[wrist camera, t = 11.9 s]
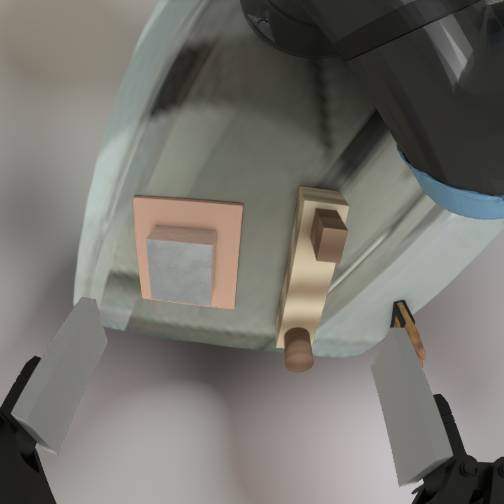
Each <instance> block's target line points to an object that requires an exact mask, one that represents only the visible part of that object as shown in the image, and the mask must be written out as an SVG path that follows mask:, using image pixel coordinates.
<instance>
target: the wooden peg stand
mask: <svg viewBox="0 0 504 504" xmlns="http://www.w3.org/2000/svg"><path fill="white" fill-rule="evenodd" d="M348 210H349V205H348V203H347V202H346V201H345V199H344V198H343V196H342V195H341V193H340V192H339V191H332V190H325V189H317V188H310V187H302V186H299V192H298V199H297V205H296V211H295V218H294V224H293V230H292V236H291V242H290V248H289V253H288V259H287V265H286V270H285V276H284V282H283V287H282V292H281V298H280V303H279V309H278V314H277V319H276V324H275V326H276V348H285V363H286V368H287V369H288V370H290V371H292V372H304V371H306V370H308V369H310V368H311V367H312V366H313V364H314V361H313V354H312V347H311V346H312V343H313V340H314V337H315V333H316V330H317V327H318V324H319V320H320V317H321V314H322V310H323V307H324V304H325V300H326V297H327V293H328V289H329V286H330V282H331V279H332V275H333V271H334V267H335V264H336V263H340V260H341V256H342V253H343V249H344V245H345V241H346V237H347V233H348V230H347V228H346V226H345V223H346V219H347V215H348Z"/></svg>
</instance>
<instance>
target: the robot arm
mask: <svg viewBox="0 0 504 504" xmlns="http://www.w3.org/2000/svg"><path fill="white" fill-rule="evenodd" d="M240 1H241V5H242V9H243V13H244V15H245V18H246V20H247V22H248V23H249V25H250V26H251V28H252V29H253V30H254V31H255V33H256V34H257V35H258V36H259V37H261V38H262V39H263V40H264V41H265V42H267V43H268V44H270V45H271V46H273V47H274V48H276V49H278V50H280V51H283V52H285V53H288V54H291V55H294V56H298V57H304V58H328V57H333V56H337V55H341V56H342V58H343V59H344V61H345V63H346V64H347V66H348V67H349V68H350V70H351V71H352V73H353V74H354V75H355V77H356V78H357V80H358V81H359V83H360V84H361V86H362V87H363V89H364V90H365V92H366V93H367V95H368V96H369V98H370V99H371V101H372V102H373V104H374V106H375V107H376V109H377V110H378V112H379V114H380V115H381V117H382V119H383V120H384V122H385V124H386V125H387V127H388V129H389V130H390V132H391V134H392V136H393V137H394V139H395V141H396V143H397V149H398V151H399V153H400V155H401V157H402V159H403V160H404V162H405V163H406V164H407V165H408V166H409V167H410V168H411V170H412V171H413V173H414V175H415V177H416V179H417V181H418V183H419V184H420V186H421V188H422V189H423V191H424V192H425V193H426V194H427V195H428V196H429V197H430V198H431V199H432V200H433V201H434V202H435V203H436V204H438V205H439V206H441V207H442V208H444V209H446V210H448V211H450V212H452V213H455V214H458V215H461V216H464V217H469V218H475V219H503V218H504V1H503V2H499V3H495V4H492V5H487V4H486V3H485V1H484V0H240ZM107 343H108V342H107V338H106V335H105V332H104V328H103V324H102V321H101V317H100V314H99V310H98V306H97V302H96V299H91V298H85V297H81V299H80V300H79V302H78V303H77V304H76V306H75V307H74V309H73V310H72V312H71V313H70V315H69V316H68V318H67V319H66V321H65V322H64V324H63V325H62V327H61V328H60V330H59V331H58V333H57V334H56V336H55V338H54V339H53V341H52V342H51V344H50V346H49V347H48V349H47V350H46V352H45V353H44V355H43V357H42V358H40V357H37V356H34V357H33V358H32V359H30V360H29V361H28V362H27V363H26V364H25V366H24V368H23V369H22V371H21V372H20V373H21V374H20V375H19V376H18V377H17V379H16V382H15V383H14V384H13V386H12V388H11V390H10V391H9V393H8V395H7V397H6V399H5V400H4V402H3V404H2V406H1V407H0V504H56V501H55V499H54V497H53V494H52V492H51V490H50V487H49V484H48V481H47V479H46V476H45V473H44V471H43V468H42V465H41V462H40V459H39V456H38V453H37V450H36V448H35V446H36V443H38V444H39V445H40V446H41V447H42V448H43V449H46V450H47V451H50V452H52V453H54V454H57V455H58V454H59V451H60V448H61V446H62V444H63V441H64V438H65V436H66V433H67V431H68V429H69V426H70V424H71V421H72V419H73V416H74V414H75V412H76V409H77V407H78V405H79V403H80V400H81V398H82V396H83V393H84V391H85V389H86V387H87V385H88V382H89V380H90V378H91V376H92V374H93V372H94V369H95V367H96V365H97V363H98V361H99V359H100V357H101V355H102V353H103V351H104V349H105V347H106V345H107ZM371 370H372V373H373V377H374V380H375V384H376V388H377V392H378V396H379V399H380V403H381V406H382V411H383V415H384V419H385V423H386V427H387V432H388V436H389V440H390V445H391V449H392V453H393V458H394V463H395V468H396V473H397V478H398V484H399V487H402V486H407V485H411V484H415V483H417V482H418V481H419V480H421V479H423V481H424V484H423V485H421V486H419V487H418V488H416V489H415V490H414V491H413V492H412V494H415V493H416V492H418V493H417V495H416V497H415V499H414V500H413V502H412V504H504V457H500V458H499V459H497V460H496V461H495V462H493V463H489V462H477V460H476V459H475V458H474V457H472V456H470V455H467V454H466V452H465V449H464V446H463V443H462V440H461V437H460V434H459V431H458V428H457V426H456V423H454V422H455V420H454V417H453V415H452V412H451V409H450V407H449V404H448V402H447V401H446V400H445V398H444V397H443V396H442V395H441V394H435V395H432V392H431V389H430V386H429V384H428V381H427V379H426V377H425V374H424V371H423V369H422V366H421V364H420V361H419V359H418V357H417V354H416V352H415V350H414V347H413V345H412V343H411V340H410V338H409V336H408V334H407V331H406V329H405V328H390V330H389V332H388V334H387V336H386V338H385V340H384V342H383V344H382V346H381V348H380V350H379V352H378V354H377V356H376V358H375V360H374V363H373V364H372V366H371Z"/></svg>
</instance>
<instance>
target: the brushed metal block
mask: <svg viewBox="0 0 504 504" xmlns="http://www.w3.org/2000/svg"><path fill="white" fill-rule="evenodd" d="M216 237H217V230H211V229H200V228H189V227H177V226H166V225H155V227H154V228H153V229H152V231H151V232H150V234H149V235H148V237H147V238H146V246H147V258H148V269H149V279H150V288H151V297H152V299H155V300H163V301H170V302H178V303H186V304H195V305H204V306H211V302H212V298H213V293H214V288H215V261H216Z"/></svg>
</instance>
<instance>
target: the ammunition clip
mask: <svg viewBox="0 0 504 504" xmlns="http://www.w3.org/2000/svg"><path fill="white" fill-rule="evenodd" d="M390 328H405V329H406V331H407V334H408V336H409V338H410V340H411V343H412V345H413V347H414V350H415V352H416V354H417V357H418V359H419V361H420V364H421V366H422V368H423V360H425V359H426V354H425V350H424V347H423V344H422V342H421V340H420V335H419V333H418V331H417V329H416V327H415V321H414V319H413V316H412V314H411V312H410V310H409V308H408V306H407V305H406V303H405V301H404V300H403V301H398V302H394V306H393V313H392V320H391V327H390ZM422 359H423V360H422Z"/></svg>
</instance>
